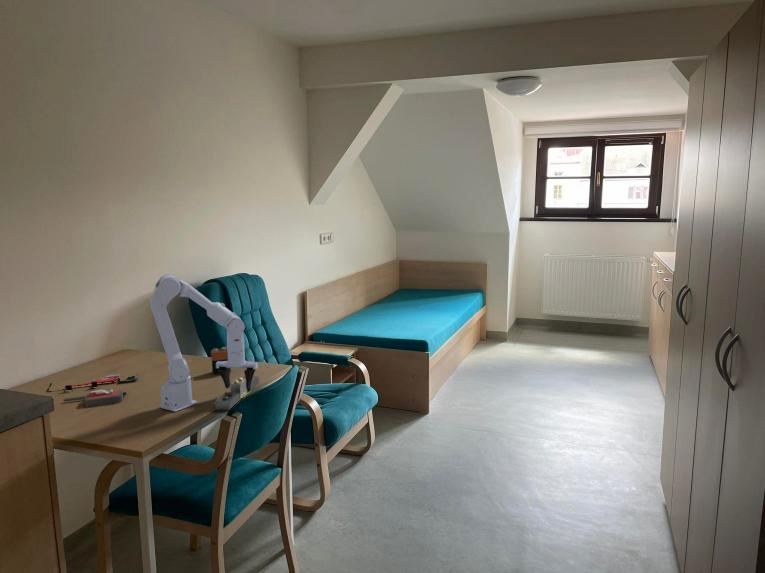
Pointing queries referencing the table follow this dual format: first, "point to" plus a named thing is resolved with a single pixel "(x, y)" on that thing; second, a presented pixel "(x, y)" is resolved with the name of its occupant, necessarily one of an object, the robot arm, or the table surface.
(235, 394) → the studded link strip
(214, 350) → the battery
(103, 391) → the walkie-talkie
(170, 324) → the robot arm
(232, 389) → the block with brass knobs
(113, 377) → the red black toy gun
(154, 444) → the table surface
